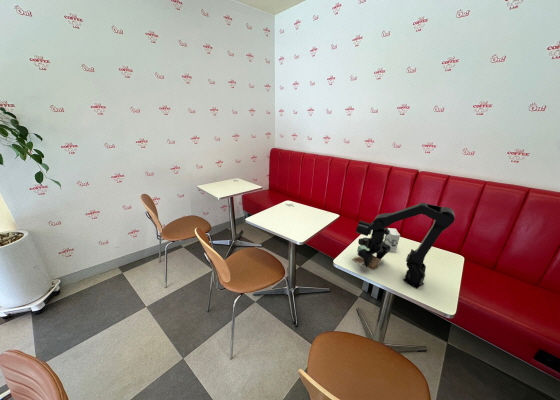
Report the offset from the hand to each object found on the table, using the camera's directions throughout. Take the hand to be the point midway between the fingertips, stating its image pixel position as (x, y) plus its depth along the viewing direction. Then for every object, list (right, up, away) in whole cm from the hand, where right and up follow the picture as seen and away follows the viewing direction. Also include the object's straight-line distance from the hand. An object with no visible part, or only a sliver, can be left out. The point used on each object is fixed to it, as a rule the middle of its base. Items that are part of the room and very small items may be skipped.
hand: (371, 264), depth 114 cm
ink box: (+18, +5, +17) cm, 25 cm away
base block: (+1, +3, +11) cm, 12 cm away
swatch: (-5, +1, +4) cm, 6 cm away
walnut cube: (0, -1, 0) cm, 1 cm away
